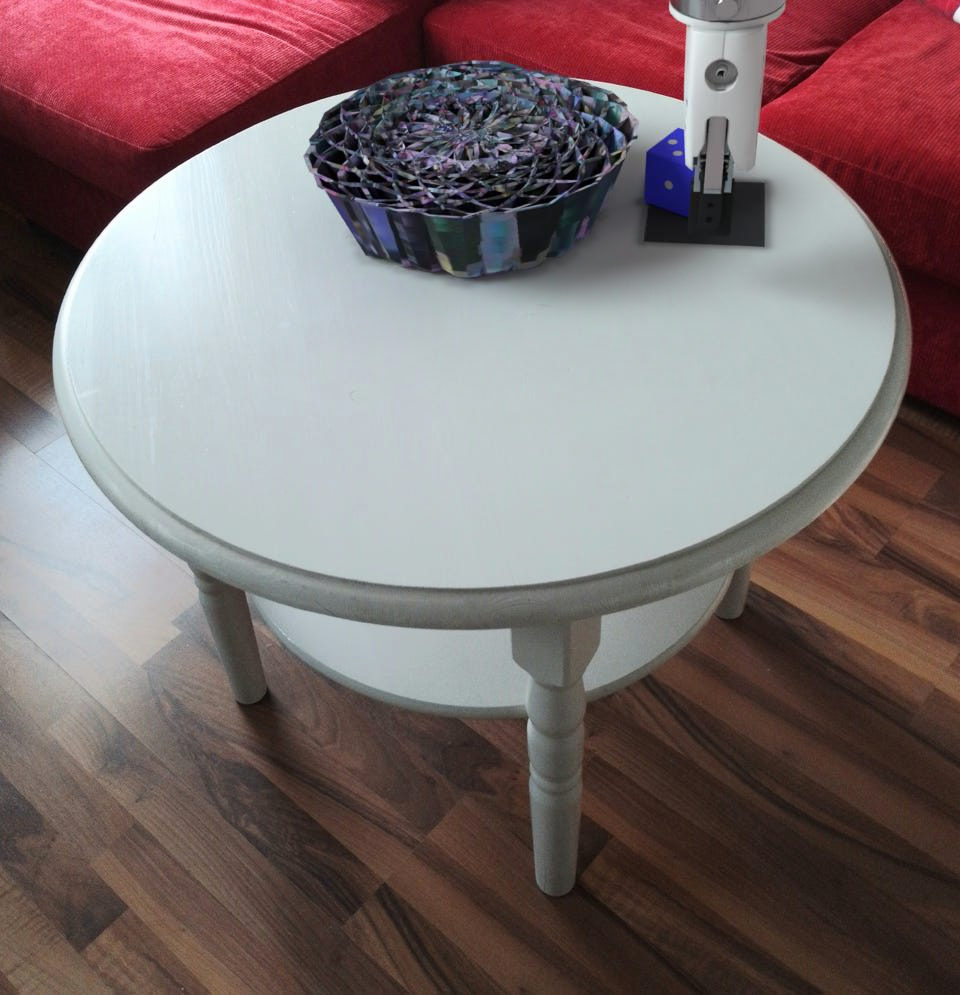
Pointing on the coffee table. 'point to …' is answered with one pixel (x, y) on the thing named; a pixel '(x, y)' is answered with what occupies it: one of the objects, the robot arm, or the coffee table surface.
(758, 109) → the robot arm
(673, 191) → the die
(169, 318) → the coffee table surface
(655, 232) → the pad
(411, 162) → the decorative bowl
